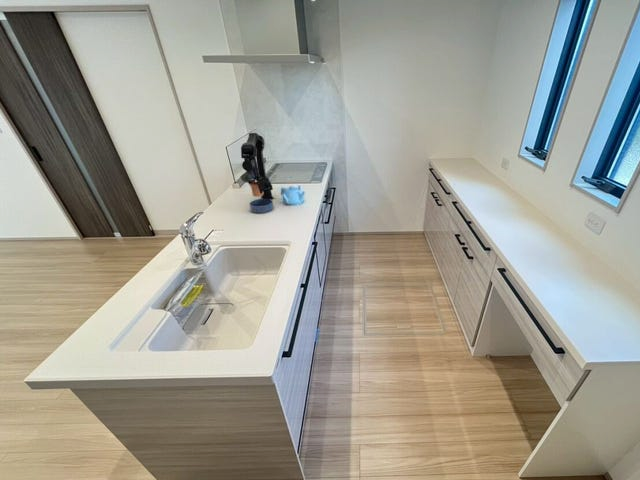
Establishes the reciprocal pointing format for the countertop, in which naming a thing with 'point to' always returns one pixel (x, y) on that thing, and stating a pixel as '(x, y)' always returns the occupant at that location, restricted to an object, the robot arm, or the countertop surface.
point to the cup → (255, 189)
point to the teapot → (292, 195)
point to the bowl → (261, 205)
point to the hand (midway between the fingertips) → (257, 192)
